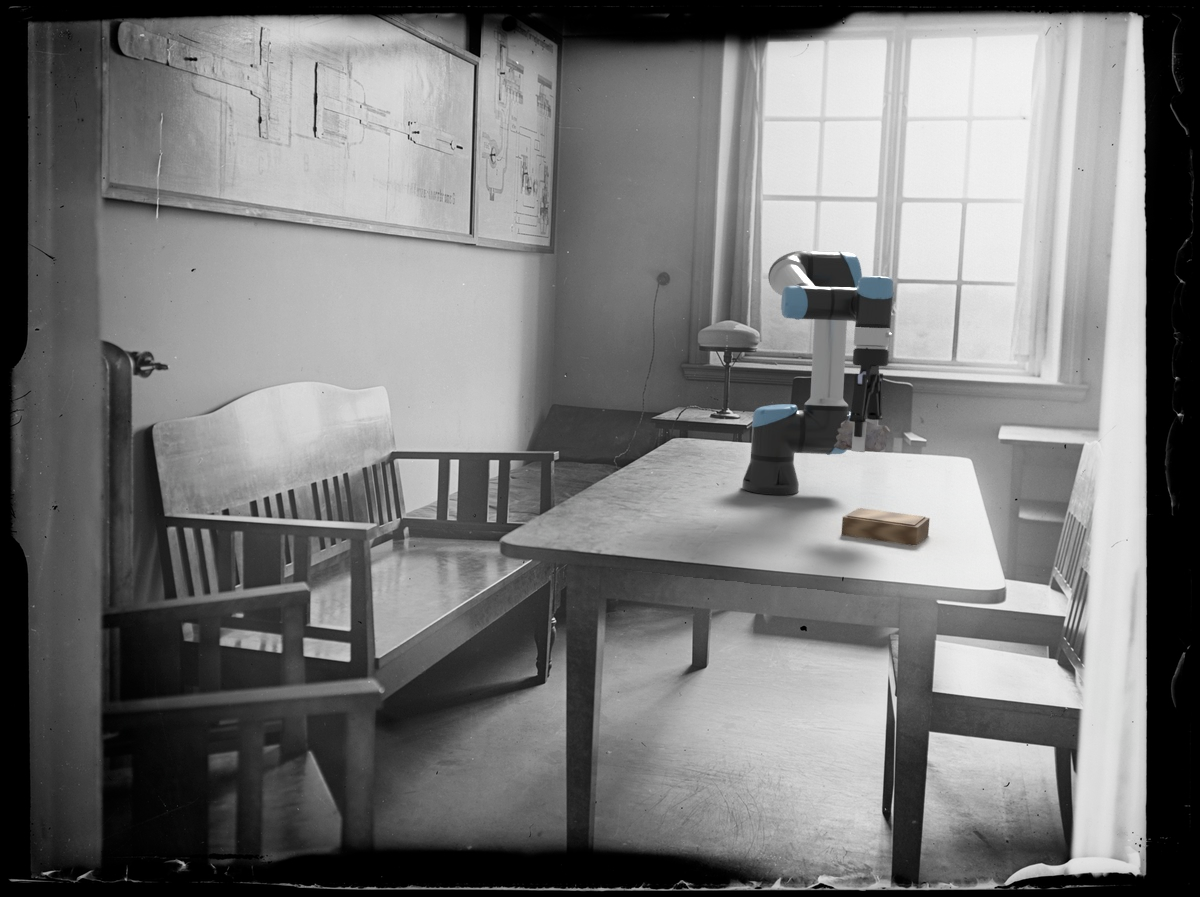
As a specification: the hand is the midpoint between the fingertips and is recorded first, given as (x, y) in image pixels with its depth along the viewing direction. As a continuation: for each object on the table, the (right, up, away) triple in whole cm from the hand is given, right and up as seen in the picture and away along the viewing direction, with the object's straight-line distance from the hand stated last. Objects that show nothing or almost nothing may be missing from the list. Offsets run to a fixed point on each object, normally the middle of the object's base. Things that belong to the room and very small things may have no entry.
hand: (864, 449), depth 214 cm
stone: (-1, -1, 0) cm, 1 cm away
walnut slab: (+4, -19, -2) cm, 19 cm away
